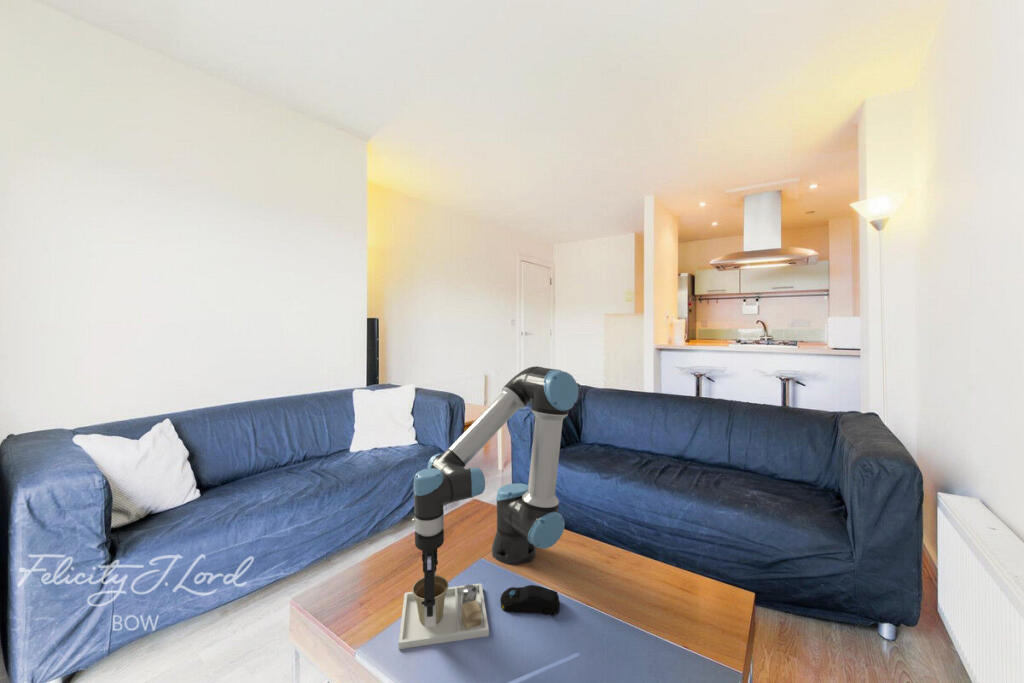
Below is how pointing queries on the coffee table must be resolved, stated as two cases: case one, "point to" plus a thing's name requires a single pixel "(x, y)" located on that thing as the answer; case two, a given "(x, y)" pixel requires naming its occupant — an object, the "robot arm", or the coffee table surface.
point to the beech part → (471, 614)
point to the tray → (447, 627)
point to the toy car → (530, 600)
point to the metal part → (469, 593)
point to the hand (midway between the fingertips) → (430, 606)
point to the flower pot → (440, 593)
